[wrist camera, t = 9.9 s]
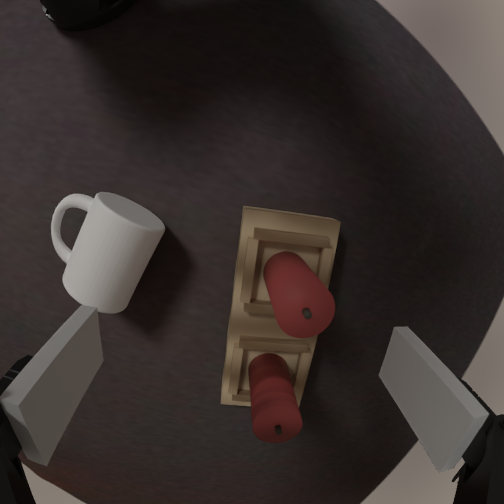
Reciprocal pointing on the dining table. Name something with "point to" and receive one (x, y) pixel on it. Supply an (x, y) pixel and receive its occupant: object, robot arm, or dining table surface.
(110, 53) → the dining table surface
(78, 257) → the mug
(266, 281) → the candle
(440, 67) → the dining table surface
